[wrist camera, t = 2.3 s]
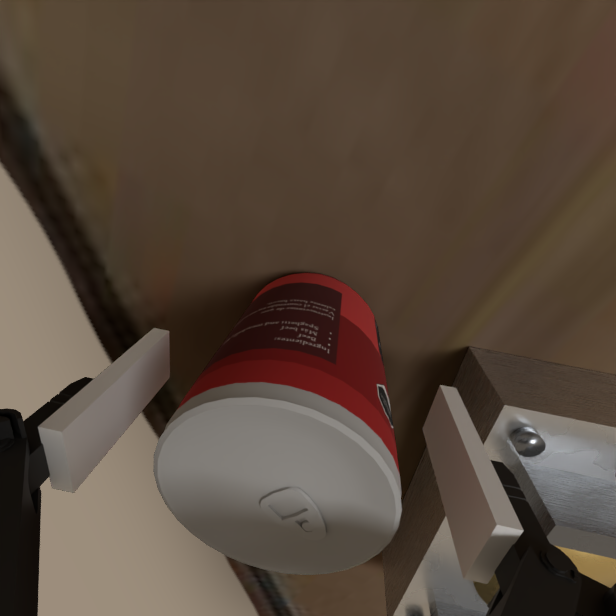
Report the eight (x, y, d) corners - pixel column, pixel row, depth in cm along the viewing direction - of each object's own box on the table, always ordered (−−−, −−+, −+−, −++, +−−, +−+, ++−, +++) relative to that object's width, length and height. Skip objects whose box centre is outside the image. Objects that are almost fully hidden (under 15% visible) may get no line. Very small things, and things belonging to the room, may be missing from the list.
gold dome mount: (469, 346, 19) (539, 461, 12) (758, 403, 19) (1017, 561, 11) (381, 549, 28) (392, 687, 21) (577, 593, 27) (659, 753, 20)
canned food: (325, 403, 22) (302, 603, 12) (225, 334, 21) (110, 495, 11) (407, 326, 19) (466, 508, 9) (297, 239, 18) (228, 343, 8)
